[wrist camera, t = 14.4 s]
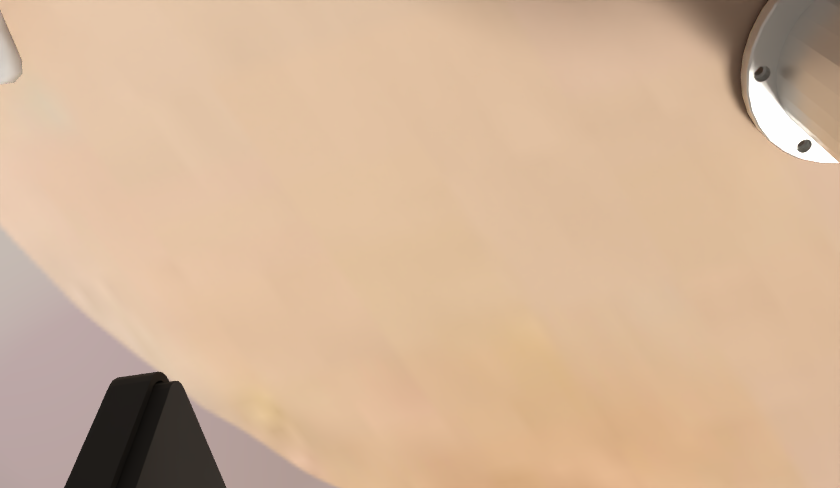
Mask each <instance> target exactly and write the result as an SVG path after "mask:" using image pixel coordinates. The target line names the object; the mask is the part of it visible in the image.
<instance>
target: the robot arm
mask: <svg viewBox="0 0 840 488" xmlns="http://www.w3.org/2000/svg"><path fill="white" fill-rule="evenodd" d="M759 67H760V68H759ZM758 68H759V70H758V71H757V72H755V71H756V70H757V69H758ZM741 88H742V97H743V100H744V103H745V106H746V109H747V112H748V114H749V116H750V118H751V119H752V121H753V123H754V124H755V126H756V127H757V129H758V130H759V131H760V132H761V133H762V134H763V135H764V136H765V137H766V138H767V139H768V140H769V141H770V142H771V143H772V144H774V145H775V146H776V147H778V148H779V149H780V150H782V151H783V152H785V153H787V154H789V155H791V156H793V157H796V158H799V159H803V160H807V161H812V162H817V163H839V164H840V0H768V2H767V3H766V5H765V6H764V7H763V9H762V10H761V12H760V14H759V16H758V18H757V20H756V22H755V24H754V26H753V28H752V30H751V31H750V34H749V37H748V40H747V44H746V47H745V50H744V53H743V59H742V67H741ZM64 488H226V486H225V483H224V481H223V479H222V476H221V474H220V472H219V470H218V467H217V465H216V462H215V460H214V458H213V455H212V453H211V451H210V448H209V446H208V444H207V441H206V439H205V437H204V434H203V432H202V430H201V427H200V425H199V423H198V420H197V418H196V415H195V413H194V411H193V408H192V406H191V404H190V401H189V399H188V397H187V394H186V392H185V390H184V388H183V386H182V384H181V383H180V382H179V381H171V382H169V380H168V378H167V376H166V375H165V374H163V373H162V372H153V373H146V374H140V375H133V376H126V377H119V378H116V379H114V380H113V381H112V383H111V384H110V386H109V388H108V390H107V392H106V394H105V397H104V399H103V401H102V403H101V406H100V408H99V410H98V413H97V415H96V417H95V419H94V421H93V424H92V426H91V428H90V431H89V433H88V435H87V437H86V440H85V442H84V444H83V446H82V449H81V451H80V453H79V455H78V458H77V460H76V462H75V465H74V467H73V469H72V471H71V474H70V476H69V478H68V481H67V483H66V485H65V487H64Z"/></svg>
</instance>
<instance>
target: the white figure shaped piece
mask: <svg viewBox="0 0 840 488" xmlns="http://www.w3.org/2000/svg"><path fill="white" fill-rule="evenodd" d="M21 74H22V59H21V57H20V55H19V52H18V50H17V48H16V45H15V43H14V41H13V39H12V36H11V34H10V32H9V29H8V27H7V25H6V22H5V20H4V18H3V16H2V13H1V11H0V84H7V83H14V82H15V81H16V80H17V79H18V78H19V77H20V76H21Z"/></svg>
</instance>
